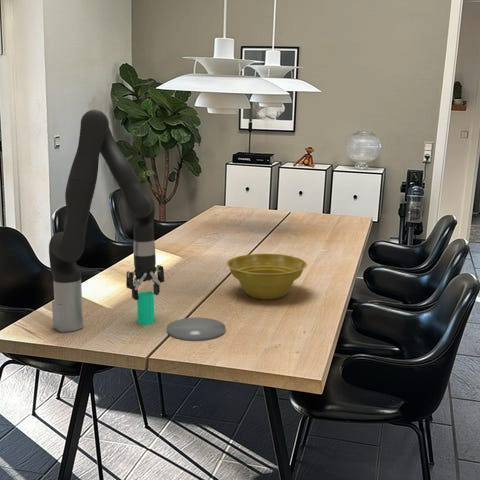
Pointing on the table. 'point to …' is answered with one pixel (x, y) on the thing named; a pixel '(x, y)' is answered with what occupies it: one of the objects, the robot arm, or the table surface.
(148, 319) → the candle
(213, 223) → the table surface
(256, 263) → the planter bowl
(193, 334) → the candle tray
